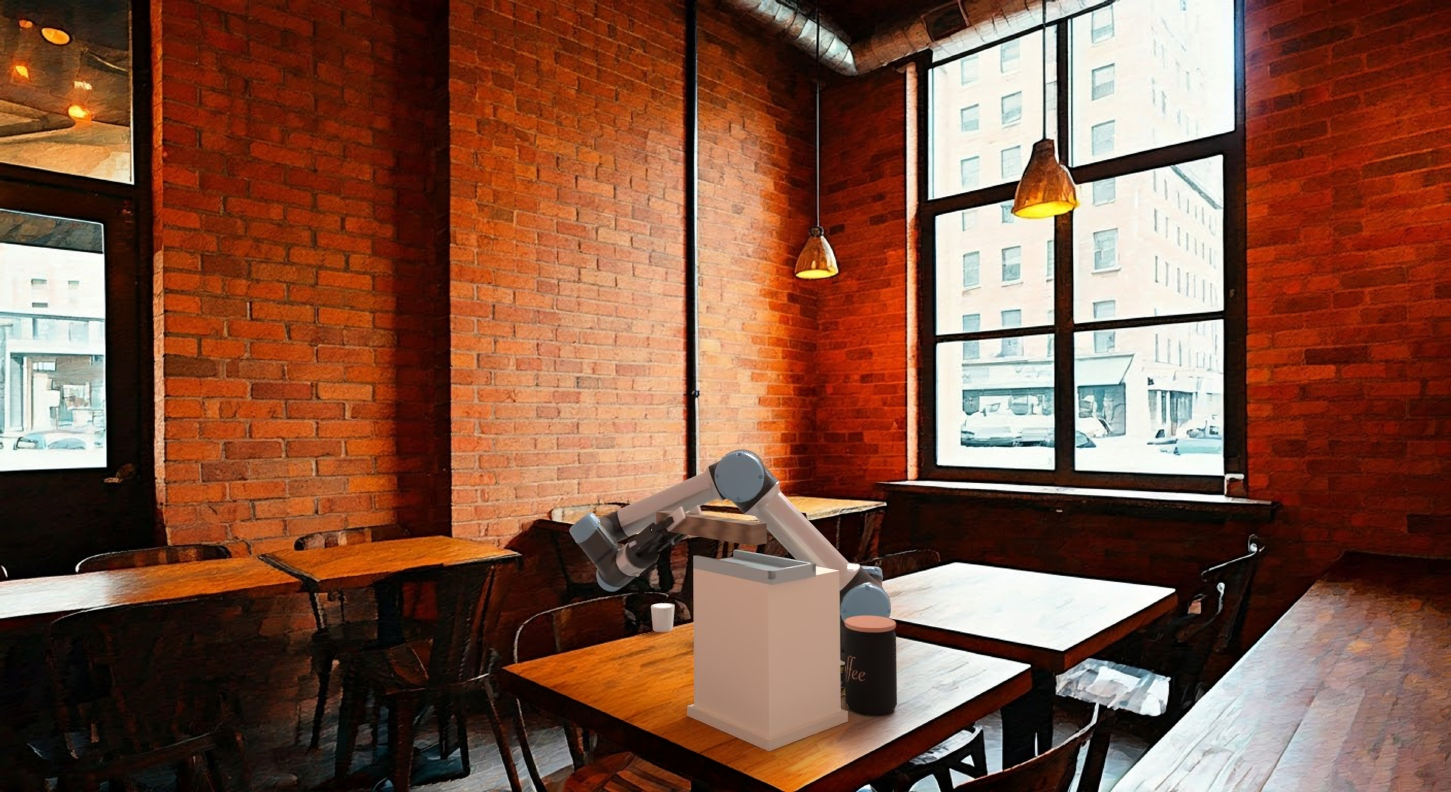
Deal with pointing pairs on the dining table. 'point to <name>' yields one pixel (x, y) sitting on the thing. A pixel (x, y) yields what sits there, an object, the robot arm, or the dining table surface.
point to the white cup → (662, 617)
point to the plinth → (767, 657)
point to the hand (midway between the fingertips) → (691, 511)
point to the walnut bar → (719, 528)
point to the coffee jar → (870, 665)
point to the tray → (757, 567)
